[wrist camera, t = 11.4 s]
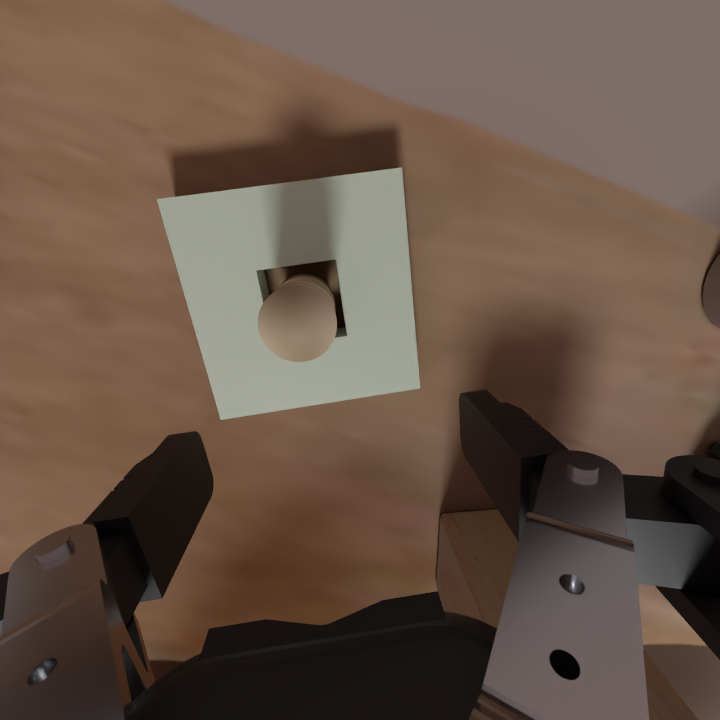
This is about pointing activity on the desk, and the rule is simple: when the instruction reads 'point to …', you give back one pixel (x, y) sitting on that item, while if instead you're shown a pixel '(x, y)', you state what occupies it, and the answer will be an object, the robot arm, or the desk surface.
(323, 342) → the peg
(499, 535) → the wooden block
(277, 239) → the seat board
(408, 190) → the desk surface
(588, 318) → the desk surface
